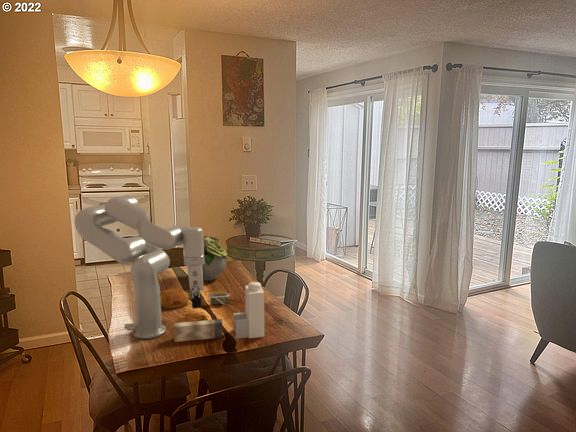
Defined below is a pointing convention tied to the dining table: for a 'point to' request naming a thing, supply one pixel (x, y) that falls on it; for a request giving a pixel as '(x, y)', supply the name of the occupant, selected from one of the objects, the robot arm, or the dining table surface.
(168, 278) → the dining table surface
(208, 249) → the flower arrangement
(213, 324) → the rail
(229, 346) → the dining table surface
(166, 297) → the croissant
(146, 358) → the dining table surface
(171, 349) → the dining table surface
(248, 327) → the post
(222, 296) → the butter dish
